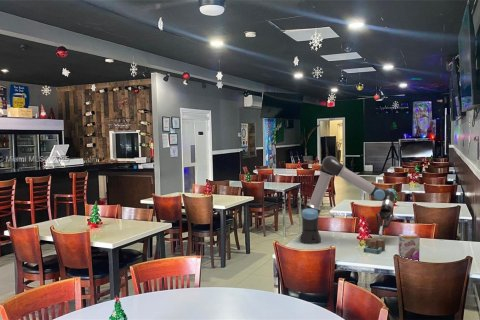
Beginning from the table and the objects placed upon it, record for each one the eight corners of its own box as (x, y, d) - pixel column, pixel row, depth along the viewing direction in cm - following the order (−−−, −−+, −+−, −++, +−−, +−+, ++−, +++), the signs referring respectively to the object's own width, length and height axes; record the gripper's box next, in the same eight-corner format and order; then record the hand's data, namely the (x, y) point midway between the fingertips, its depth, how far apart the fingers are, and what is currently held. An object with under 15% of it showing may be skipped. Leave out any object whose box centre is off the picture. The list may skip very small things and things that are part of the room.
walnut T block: (362, 251, 279) (362, 240, 279) (366, 247, 287) (366, 237, 287) (381, 253, 273) (381, 242, 272) (384, 250, 281) (384, 239, 280)
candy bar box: (400, 263, 252) (400, 236, 251) (398, 260, 257) (398, 234, 256) (419, 263, 251) (419, 236, 250) (417, 260, 256) (417, 234, 255)
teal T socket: (363, 252, 277) (363, 248, 277) (367, 249, 284) (367, 245, 283) (378, 254, 271) (378, 250, 271) (382, 251, 278) (382, 247, 278)
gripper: (396, 211, 303) (390, 239, 290) (378, 209, 310) (371, 236, 297) (395, 205, 298) (389, 233, 285) (376, 203, 305) (369, 230, 292)
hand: (380, 234), depth 291 cm, fingers closed
